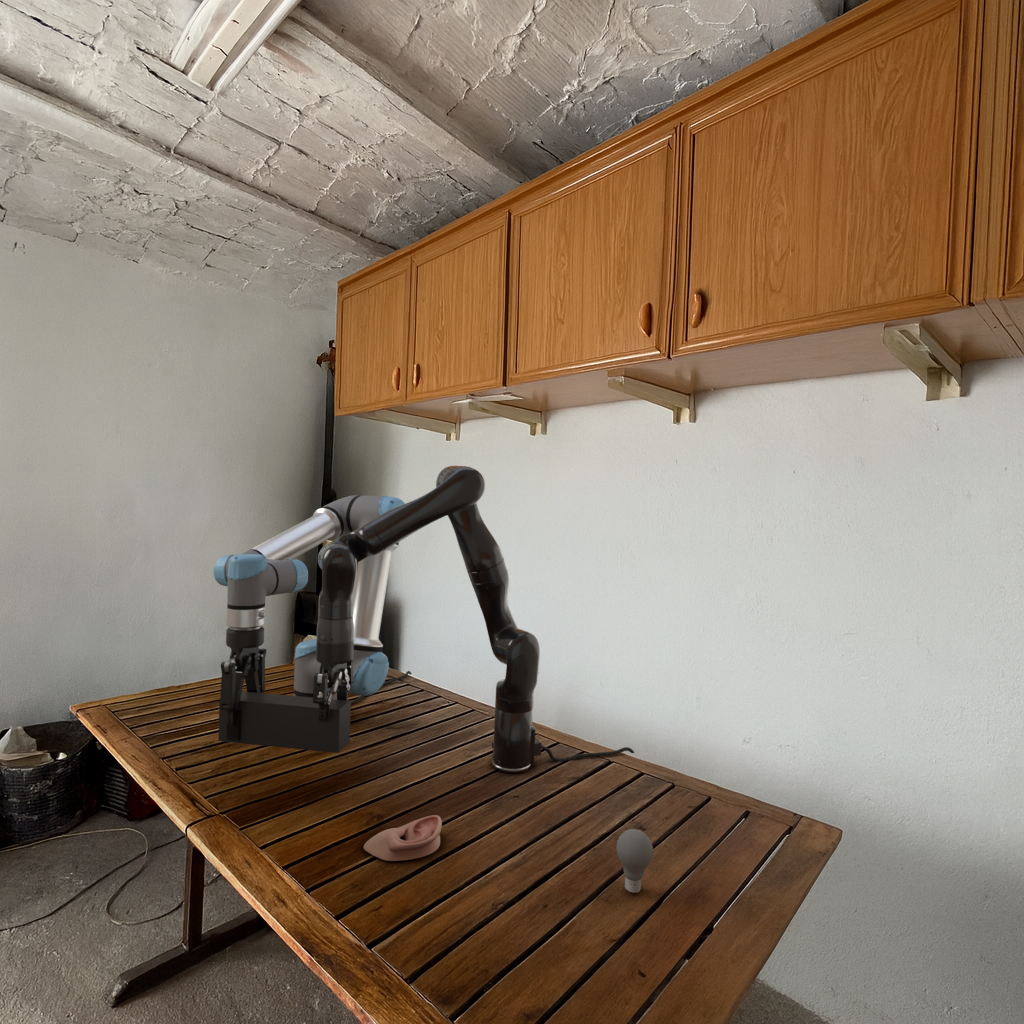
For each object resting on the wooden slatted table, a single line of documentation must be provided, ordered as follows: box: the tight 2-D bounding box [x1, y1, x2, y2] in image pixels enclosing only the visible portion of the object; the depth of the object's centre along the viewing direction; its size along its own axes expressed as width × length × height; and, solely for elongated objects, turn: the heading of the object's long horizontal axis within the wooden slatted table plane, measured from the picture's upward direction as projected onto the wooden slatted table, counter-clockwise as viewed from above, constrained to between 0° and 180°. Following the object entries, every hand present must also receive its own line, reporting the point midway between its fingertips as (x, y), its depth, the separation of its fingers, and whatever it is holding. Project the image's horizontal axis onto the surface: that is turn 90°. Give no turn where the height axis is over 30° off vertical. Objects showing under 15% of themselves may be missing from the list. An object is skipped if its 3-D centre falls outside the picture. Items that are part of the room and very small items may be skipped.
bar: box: [217, 690, 352, 754], centre depth 134 cm, size 27×6×9 cm, turn 81°
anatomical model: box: [363, 814, 443, 862], centre depth 116 cm, size 13×4×12 cm
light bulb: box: [615, 828, 654, 894], centre depth 106 cm, size 6×6×10 cm
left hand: (242, 733), depth 136 cm, fingers closed on bar, 6 cm apart
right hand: (333, 714), depth 133 cm, fingers open, 8 cm apart
